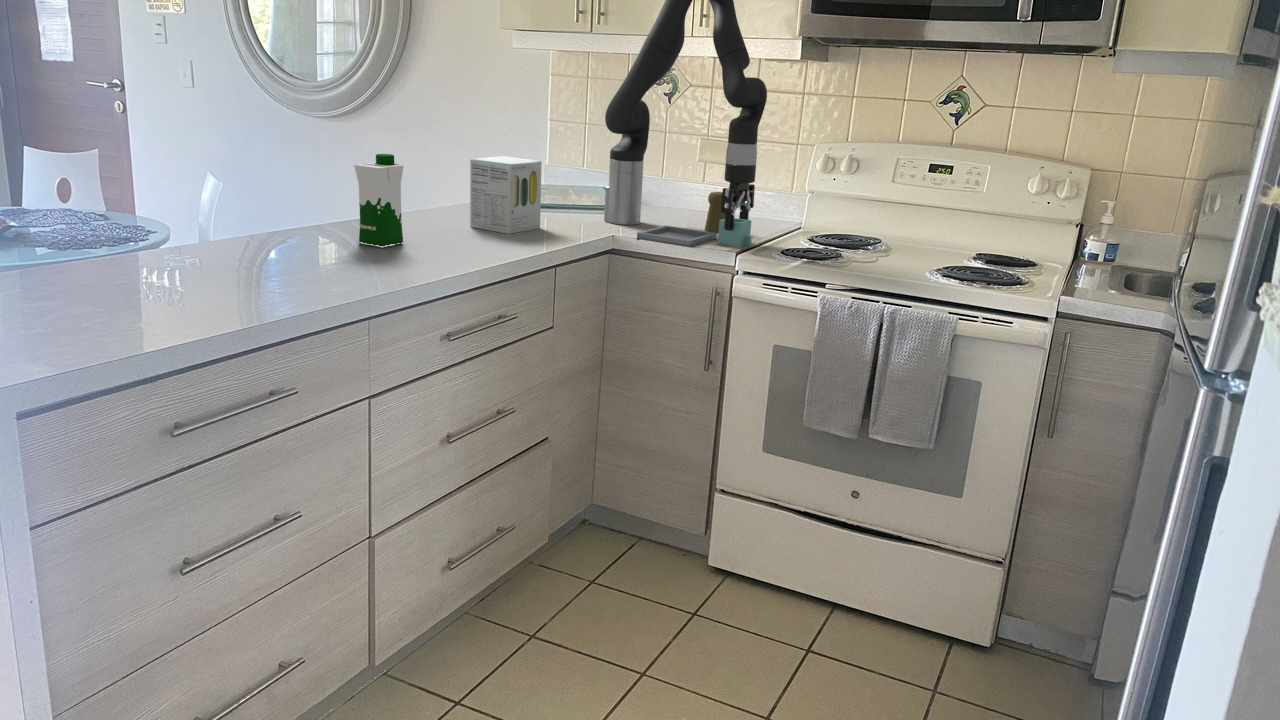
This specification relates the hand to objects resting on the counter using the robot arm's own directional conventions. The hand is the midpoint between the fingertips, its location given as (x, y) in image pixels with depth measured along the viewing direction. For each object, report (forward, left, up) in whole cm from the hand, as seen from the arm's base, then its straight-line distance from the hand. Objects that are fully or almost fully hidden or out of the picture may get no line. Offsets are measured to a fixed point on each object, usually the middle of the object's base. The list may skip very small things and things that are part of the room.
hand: (736, 228), depth 234 cm
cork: (-12, +14, -5) cm, 19 cm away
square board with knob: (0, 0, -5) cm, 5 cm away
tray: (-14, -4, -5) cm, 16 cm away
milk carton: (-61, -60, -5) cm, 86 cm away
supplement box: (-55, -22, -5) cm, 60 cm away
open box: (0, 0, -4) cm, 4 cm away
